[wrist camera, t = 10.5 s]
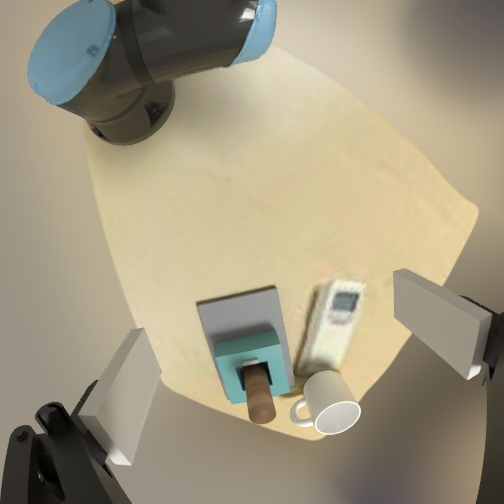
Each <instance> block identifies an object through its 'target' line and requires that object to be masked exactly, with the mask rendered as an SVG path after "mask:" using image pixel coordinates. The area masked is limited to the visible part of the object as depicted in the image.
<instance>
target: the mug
mask: <svg viewBox="0 0 504 504" xmlns="http://www.w3.org/2000/svg"><path fill="white" fill-rule="evenodd" d="M303 393H304V398H302V399H300V400H298V401H297V402H296V403H295V404H294V405H293V406H292V408H291V410H290V419H291V421H292V422H293V423H294V424H295V425H297V426H300V427H308V426H312V425H315V428H316V430H317V431H318V432H320V433H322V434H328V435H330V434H336V433H340V432H343V431H344V430H346V429H348V428H349V427H351V426H352V425H353V424H354V423H355V422H356V421H357V419H358V418H359V416H360V411H361V410H360V406H359V405H358V403H357V401H356V400H355V398H354V396H353V394H352V393H351V391H350V389H349V388H348V386H347V384H346V383H345V381H344V379H343V378H342V376H341V375H340V374H339V373H337V372H335V371H331V370H325V371H321V372H318V373H316V374H314V375H313V376H311V377H310V378H309V379H308V380H307V381H306V383H305V385H304V388H303ZM305 404H307V406H308V409H309V411H310V414H311V417H310V418H308V419H303V420H302V419H299V418H298V417H297V410H298V409H299V408H300V407H301V406H303V405H305Z"/></svg>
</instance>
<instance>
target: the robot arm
mask: <svg viewBox="0 0 504 504" xmlns="http://www.w3.org/2000/svg"><path fill="white" fill-rule="evenodd" d="M276 13H277V5H276V1H275V0H125V1H122V2H119V3H117V4H114V5H113V4H112V3H110V2H109V1H108V0H81V1H78V2H76V3H74V4H72V5H71V6H69V7H68V8H66V9H65V10H63V11H62V12H61V13H60V14H58V15H57V16H56V17H55V18H54V19H53V20H52V21H51V22H50V23H49V24H48V26H47V27H46V28H45V29H44V31H43V32H42V34H41V36H40V37H39V39H38V40H37V42H36V44H35V45H34V48H33V50H32V53H31V55H30V59H29V63H28V80H29V84H30V86H31V88H32V89H33V90H34V92H35V93H36V94H38V95H39V96H41V97H43V98H44V99H45V100H46V101H47V102H49V103H50V104H53V105H56V106H58V107H61V108H63V109H66V110H67V111H70V112H72V113H74V114H76V115H79V116H81V117H83V118H85V119H86V121H87V123H88V125H89V127H90V129H91V130H92V131H93V133H94V134H95V135H96V136H98V137H99V138H100V139H102V140H104V141H106V142H109V143H111V144H115V145H131V144H135V143H138V142H141V141H143V140H145V139H147V138H148V137H150V136H151V135H153V134H154V133H155V132H156V131H158V130H159V129H160V128H161V126H162V125H163V124H164V123H165V121H166V120H167V118H168V117H169V115H170V113H171V111H172V108H173V105H174V100H175V89H174V84H173V81H172V79H175V78H178V77H182V76H186V75H189V74H193V73H197V72H201V71H206V70H210V69H214V68H219V67H223V68H229V67H231V66H233V65H235V64H239V63H243V62H248V61H253V60H256V59H258V58H260V57H261V56H262V55H263V54H265V53H266V51H267V50H268V48H269V47H270V44H271V42H272V39H273V36H274V31H275V25H276ZM393 277H394V318H396V319H397V320H398V321H399V322H401V323H402V324H403V325H404V326H405V327H406V328H408V329H409V330H410V331H411V332H412V333H414V334H415V335H416V336H417V337H418V338H420V339H421V340H422V341H423V342H424V343H426V344H427V345H428V346H429V347H430V348H431V349H432V350H434V351H435V352H436V353H437V354H438V355H439V356H441V357H442V358H443V359H444V360H445V361H446V362H447V363H448V364H450V365H451V366H452V367H453V368H454V369H456V371H458V372H459V373H460V374H461V375H462V376H463V377H464V378H466V380H469V379H470V378H472V377H473V376H475V375H476V374H478V373H479V372H480V368H481V365H482V361H484V362H486V363H487V364H488V365H487V368H486V372H485V375H484V378H483V382H482V386H484V383H485V381H486V384H487V425H486V441H485V453H484V461H483V468H482V475H481V481H480V486H479V492H478V496H477V500H476V504H504V312H503V313H501V314H500V315H499V314H497V313H495V312H494V311H492V310H490V309H488V308H486V307H484V306H483V305H480V304H479V303H477V302H474V301H473V300H472V299H470V298H468V297H465V296H460V295H457V294H455V293H453V292H451V291H449V290H447V289H445V288H443V287H441V286H439V285H437V284H436V283H434V282H432V281H430V280H428V279H426V278H424V277H422V276H420V275H418V274H416V273H414V272H412V271H410V270H408V269H406V268H403V269H400V270H396V271H393ZM161 372H162V371H161V368H160V366H159V364H158V361H157V359H156V356H155V354H154V352H153V349H152V347H151V344H150V342H149V339H148V336H147V334H146V331H145V329H144V328H139V329H132V330H131V331H130V332H129V334H128V335H127V337H126V338H125V340H124V341H123V343H122V344H121V346H120V347H119V349H118V350H117V352H116V353H115V355H114V357H113V358H112V360H111V361H110V363H109V364H108V366H107V368H106V369H105V371H104V372H103V374H102V375H101V377H100V379H99V380H96V381H94V382H93V383H92V384H91V385H90V386H89V387H88V388H87V390H86V391H85V393H84V395H83V396H82V398H81V399H80V401H79V402H78V404H77V406H76V408H75V409H74V411H73V412H72V414H71V416H69V414H68V413H67V411H66V410H65V408H64V407H63V405H62V404H61V403H59V402H51V403H48V404H46V405H44V406H42V407H41V408H40V409H39V410H38V411H37V413H36V415H35V419H36V421H37V422H38V424H39V425H40V426H41V428H42V429H43V430H44V432H45V433H44V434H36V433H35V431H34V430H33V429H32V427H31V426H28V425H23V426H20V427H18V428H16V429H15V430H14V431H13V433H12V434H11V436H10V439H9V444H8V449H7V454H6V460H5V466H4V472H3V479H2V487H1V498H0V504H132V503H131V501H130V500H129V498H128V497H127V495H126V494H125V492H124V491H123V489H122V488H121V486H120V485H119V483H118V481H117V480H116V478H115V476H114V474H113V473H112V471H111V469H110V468H109V466H108V465H107V464H106V463H105V460H106V457H107V455H108V456H109V457H110V459H111V460H112V461H113V462H114V463H115V464H121V465H132V462H133V459H134V456H135V452H136V449H137V445H138V442H139V439H140V436H141V433H142V430H143V426H144V423H145V420H146V417H147V414H148V411H149V408H150V405H151V402H152V398H153V396H154V393H155V390H156V387H157V384H158V381H159V378H160V375H161ZM38 474H39V475H40V478H39V475H38Z"/></svg>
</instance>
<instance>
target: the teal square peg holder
mask: <svg viewBox="0 0 504 504" xmlns="http://www.w3.org/2000/svg"><path fill="white" fill-rule="evenodd" d="M215 358H216V361H217V364H218V367H219V370H220V373H221V376H222V379H223V382H224V384H225V387H226V390H227V393H228V396H229V398H230V401H231V404H236V403H242V402H247V397H246V389H245V381H244V374H241V370H240V367H241V366H247V365H252V364H256V363H260V362H265V361H267V362H268V366H269V369H266V374H267V378H268V382H269V386H270V390H271V394H272V396H277V395H281V394H285V393H289V392H290V389H289V384H288V379H287V374H286V369H285V364H284V359H283V354H282V349H281V344H280V341H279V338H278V335H277V332H276V330H272V331H267V332H263V333H259V334H254V335H250V336H245V337H240V338H235V339H230V340H225V341H220V342H217V346H216V356H215Z"/></svg>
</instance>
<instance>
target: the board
mask: <svg viewBox="0 0 504 504" xmlns="http://www.w3.org/2000/svg"><path fill="white" fill-rule="evenodd" d="M197 309H198V313H199V316H200V319H201V322H202V326H203V329H204V332H205V335H206V338H207V341H208V345H209V348H210V351H211V354H212V357H213V360H214V363H215V366H216V369H217V371H218V374H219V377H220V380H221V383H222V386H223V388H224V391H225V394H226V397H227V399H228V400H230V398H229V396H228V393H227V390H226V387H225V384H224V382H223V379H222V376H221V373H220V370H219V367H218V364H217V361H216V358H215V356H216V346H217V342H220V341H225V340H230V339H235V338H240V337H245V336H250V335H254V334H259V333H263V332H267V331H272V330H276V332H277V335H278V338H279V341H280V344H281V349H282V354H283V359H284V364H285V369H286V374H287V379H288V384H289V387H293V386H296V385H295V380H294V374H293V369H292V364H291V358H290V353H289V348H288V343H287V338H286V332H285V327H284V322H283V317H282V312H281V307H280V302H279V297H278V292H277V288H276V287H273V288H269V289H264V290H260V291H256V292H251V293H247V294H242V295H238V296H233V297H229V298H224V299H219V300H215V301H210V302H205V303H200V304H197ZM264 365H265V369H269V366H268V362H267V361H265V362H264ZM240 370H241V374H244V372H243V366H241V367H240Z"/></svg>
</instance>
